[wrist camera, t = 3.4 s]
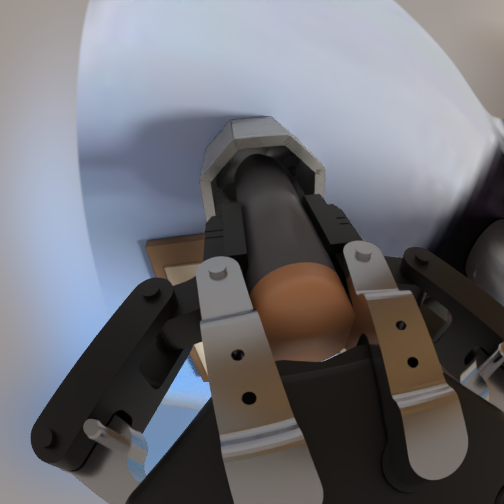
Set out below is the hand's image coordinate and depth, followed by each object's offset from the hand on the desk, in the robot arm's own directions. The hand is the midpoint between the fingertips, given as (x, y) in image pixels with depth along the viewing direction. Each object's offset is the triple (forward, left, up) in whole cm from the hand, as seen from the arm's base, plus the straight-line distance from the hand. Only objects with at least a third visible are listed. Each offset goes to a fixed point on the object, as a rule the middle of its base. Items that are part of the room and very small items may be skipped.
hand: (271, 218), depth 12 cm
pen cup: (0, 0, -7) cm, 7 cm away
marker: (0, 0, -6) cm, 6 cm away
